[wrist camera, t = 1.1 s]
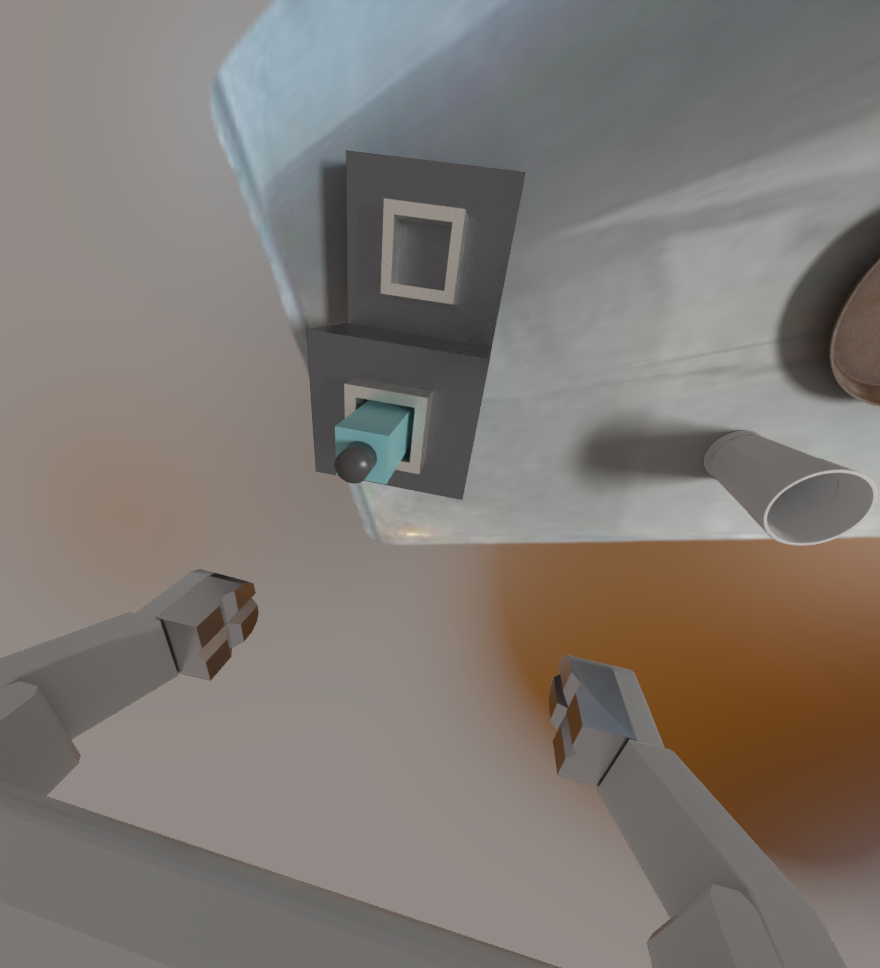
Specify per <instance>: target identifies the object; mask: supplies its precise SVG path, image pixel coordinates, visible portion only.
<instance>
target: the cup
mask: <svg viewBox="0 0 880 968" xmlns="http://www.w3.org/2000/svg"><path fill="white" fill-rule="evenodd" d="M704 467H705V469H706V471H707V472H708V473H709V474H710V475H711V476H712V477H714V478H715V479H716V480H717V481H718V482H719V483H720V484H721V485H722V486H723V487H724V488H725V489H726V490H727V491H728V492H729V493H730V494H731V495H732V496H733V497H734V498H735V499H736V500H737V501H738V502H739V503H740V504H741V505H742V506H743V507H744V508H745V509H746V510H747V512H748V513H749V514H750V515H751V516H752V518H753V519H754V520H755V521H756V522H757V523H758V524H759V525H760V526H761V527H762V528H763V529H764V530H765V532H766V533H767V534H768V535H769V536H770V537H772V538H773V539H775V540H777V541H779V542H781V543H785V544H789V545H812V544H818V543H823V542H826V541H829V540H832V539H835V538H838V537H840V536H842V535H844V534H846V533H848V532H849V531H851V530H853V529H854V528H855V527H857V526H858V525H859V524H861V523H862V522H863V521H864V520H865V519H866V518H867V517H868V516H869V514H870V513H871V511H872V510H873V508H874V506H875V504H876V501H877V489H876V486H875V484H874V482H873V481H872V480H871V479H870V478H869V477H867V476H866V475H864V474H862V473H860V472H857V471H854V470H851V469H849V468H846V467H843V466H840V465H838V464H835V463H832V462H829V461H827V460H824V459H820V458H816V457H814V456H811V455H809V454H806V453H803V452H801V451H798V450H796V449H793V448H790V447H788V446H785V445H783V444H780V443H777V442H775V441H772V440H770V439H767V438H765V437H764V436H762V435H760V434H758V433H755V432H753V431H747V430H742V431H735V432H731V433H728V434H726V435H724V436H722V437H720V438H719V439H717V440H716V441H715V442H714V443H713V444H712V445H711V446H710V447H709V448H708V450H707V451H706V453H705V456H704Z"/></svg>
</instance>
